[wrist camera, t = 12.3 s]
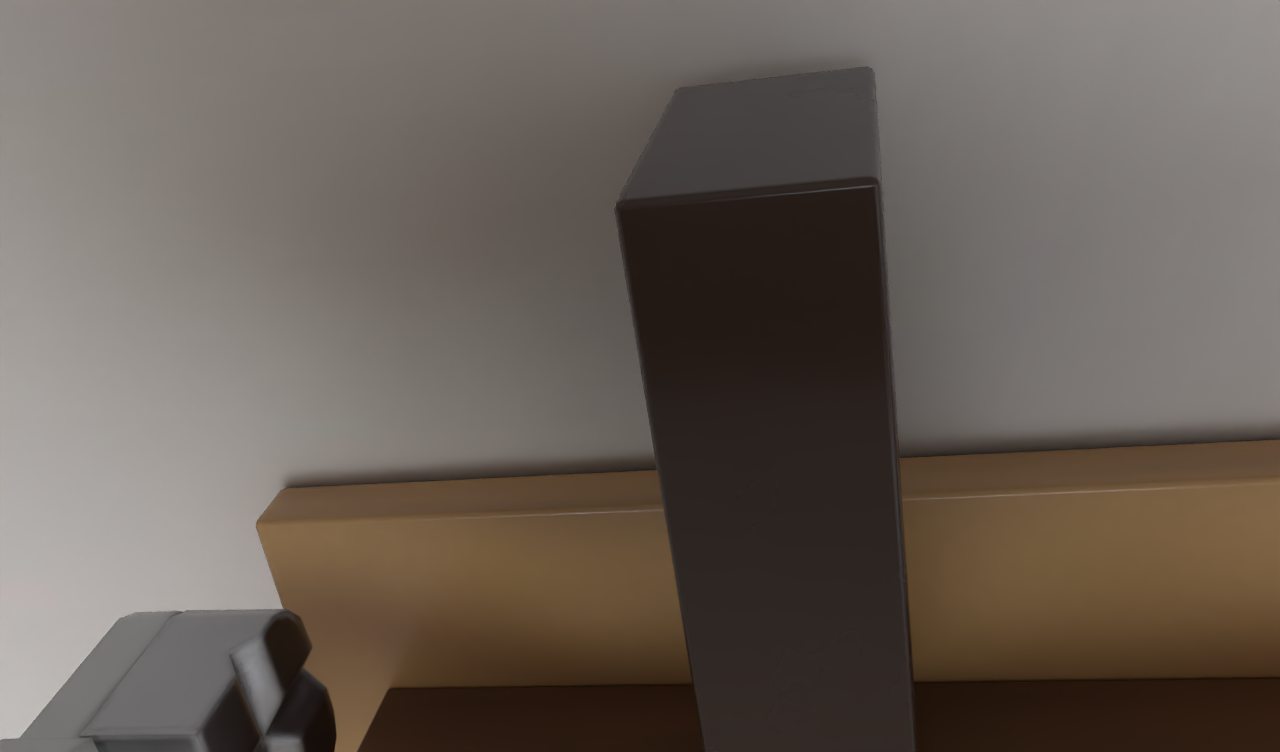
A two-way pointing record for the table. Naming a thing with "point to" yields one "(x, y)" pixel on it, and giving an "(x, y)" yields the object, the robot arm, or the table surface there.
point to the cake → (937, 584)
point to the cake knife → (776, 409)
